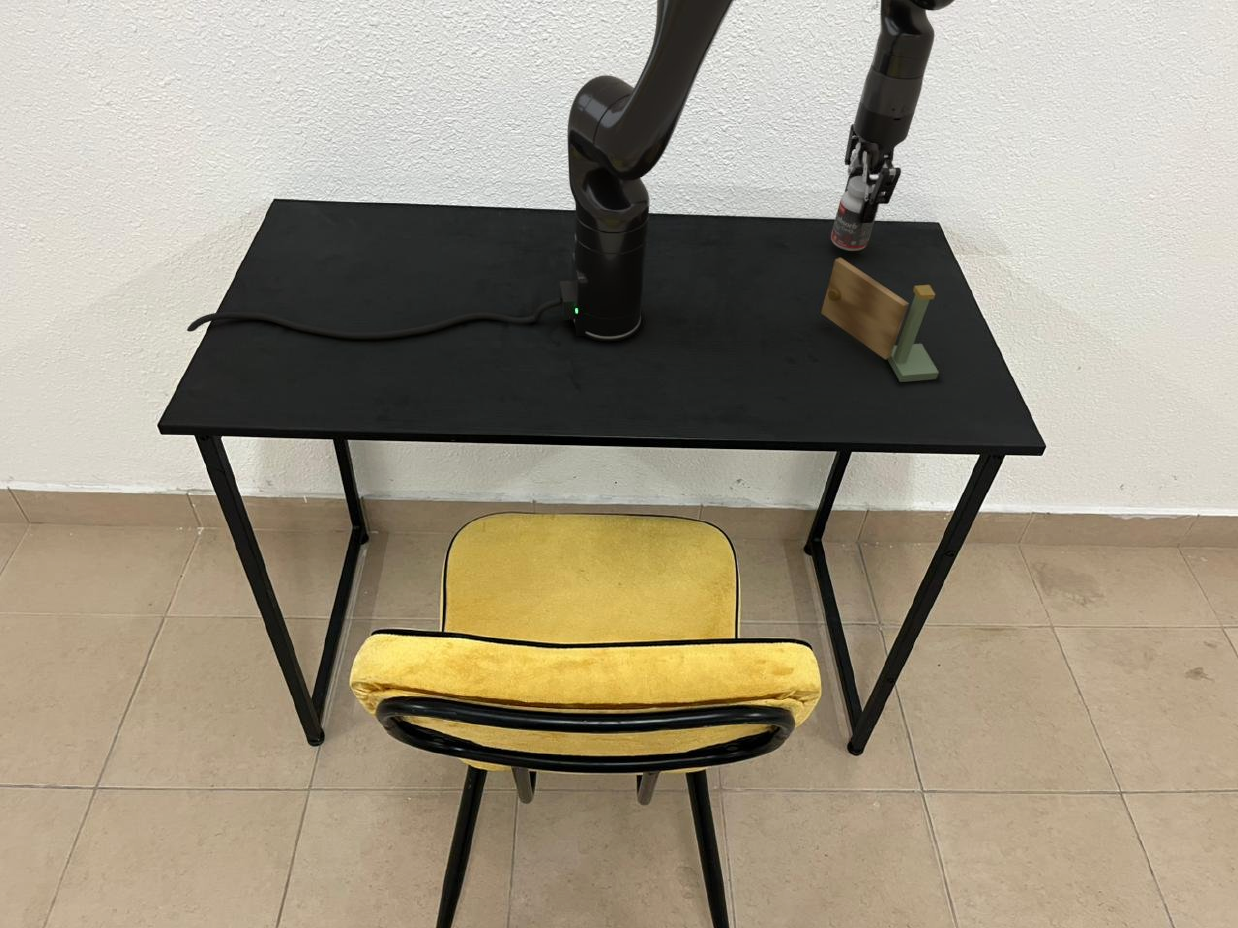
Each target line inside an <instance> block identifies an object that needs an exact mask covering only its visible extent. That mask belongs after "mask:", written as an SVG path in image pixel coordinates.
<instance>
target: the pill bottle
mask: <svg viewBox="0 0 1238 928" xmlns="http://www.w3.org/2000/svg"><path fill="white" fill-rule="evenodd" d="M862 180H863V176H855V177H853V178H851V179H850V181H849V184H848V187H847V189H848V191H846V192H845V191H844V192H845V193H842V194H841V197H840V201H839V203H838V207H837V211H836V215H835V219H834V222H833V224H832V225H833V226H832V230H831V233H830V240H831V242H832V243H833V245H834V246H836V247H837V248H839V249H841V250H844V251H849V252H857V251H858V252H859V251H861V250H863V249H865V248H866V247H867V246H868V243H869V241H870V237H871V234H872V230H873V228H874V224H875V221H876V218H877V215H878V212H879V208H880V204H878V207H877V211H876V214H875V218H874V221H873V222H872V223H863V224H861V223H860V222H859V221H858V216H859V213H860V209H861V206H862V202H863V199H864V196H865V184H863V182H862ZM874 187H875V184H874V185H872V191H871V193H872V192H873V189H874Z"/></svg>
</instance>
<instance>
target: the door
mask: <svg viewBox="0 0 1238 928" xmlns="http://www.w3.org/2000/svg"><path fill="white" fill-rule="evenodd" d="M909 305H910V303H909V302H908V301H906V300H905V299H903V298H902V297H901V296H899V295H897V294H896V293H895V292H893V291H891V290H890V289H888V288H887V287H885V286H884V285H882V284H881V283H880V282H878V281H876V280H875V279H873V278H872V277H871V276H869V275H867V274H866V273H864V272H863V271H862V270H860V269H859V268H857V267H856V266H854V265H853V264H851V263H850V262H848V261H847V260H845V259H844V258H842V257H838V258H836V259H835V260H834V263H833V266H832V270H831V274H830V278H829V281H828V285H827V290H826V292H825V297H824V301H823V304H822V308H821V312H820V314H821V315H823V316H824V317H826V318H827V319H828V320H829V321H831V322H833V323H834V324H835V325H837V326H838V327H839V328H841V329H842V330H843V331H845V332H846V333H848V334H849V335H850V336H852V337H853V338H855V339H856V340H857V341H859V342H860V343H862V344H863V345H864V346H866V348H868V349H870V350H871V351H872V352H874V353H875V354H877V355H878V356H879V357H881V358H882V359H884V360H886V361H887V360H888V358H890V356H891V354H892V351H893V348H894V346H896V342H897V339H898V336H899V334H900V331H901V328H902V325H903V322H904V319H905V317H906V313H907V310H908V308H909Z"/></svg>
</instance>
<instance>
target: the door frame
mask: <svg viewBox="0 0 1238 928" xmlns="http://www.w3.org/2000/svg"><path fill="white" fill-rule="evenodd" d="M912 291H913V293H914V298H913V300H912V303H911V305H910V308H909V311H908V314H907V317H906V320H905V323H904V326H903V328H902V330H901V334H900V337H899V339H898V343H897V345H894V348H893V351H892V354H891V356H890V358H888V359H887V362H888V363H889V365H890V367H891V369H892V370H893V372H894V374H895V376H896V378H897V379H898V381H899V382H900V383H905V382H906V383H907V382H918V381H929V380H931V381H932V380H937V378H938V376H939V374H940V372H939V370H938V369H937V366H936V365H935V363H934V362H933V360H932V358H931V356H930V355H929V353H928V352H927V350H926V349H925V347H924V345H923V344H922V343H915V342H916V338H917V335H918V332H919V330H920V327H921V324H922V321H923V319H924V317H925V313H926V311H927V308H928V306H929V303H930V301H931V300H934V299H935V296H936V292H935V291H934V290H933V288H932V286H931V285H930V284H923V285H914V287H913V290H912Z"/></svg>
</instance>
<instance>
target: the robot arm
mask: <svg viewBox="0 0 1238 928" xmlns="http://www.w3.org/2000/svg"><path fill="white" fill-rule="evenodd" d="M735 1H736V0H656V17H655V18H656V19H655V30H654V36H653V39H652V40H653V41H652V45H651V48H650V50H649V54H648V57H647V60H646V62H645V64H644V67H643V69H642V71H641V73H640V75H639V77H638V79H637V81H636V83H635V85H634V86H633V85H631V84H629V83H628V82H626V81H625V80H623V79H621V78H620V77H617V76H615V75H608V74H607V75H606V74H605V75H598V76H595V77H593V78H591V79H590V80H588V81H587V82H585V84H584V85H583V86H582V87H581V88H580V89H579V90H578V92H577V93H576V95H575V97H574V99H573V101H572V104H571V106H570V110H569V113H568V118H567V129H566V130H567V132H566V136H567V137H566V138H567V139H566V141H567V160H568V161H567V165H568V166H567V167H568V183H569V188H570V192H571V195H572V197H573V200H574V203H575V204H574V205H575V209H574V210H575V212H574V213H575V216H574V218H575V219H574V220H575V221H574V223H575V224H574V228H575V229H574V252H573V253H572V254H571V280H560V281H559V285H558V286H559V289H558V290H559V291H558V292H559V293H558V294H559V295H558V296H559V297H557V298H555V299H553V300H549V301H547V302H545V303H543V304H541V305H540V306H538V307H537V308H536V310H535V311H534V314H533V315H531V316H530V315H529V316H526V317H525V316H524V317H517V316H510V315H506V314H500V313H495V312H486V311H485V312H484V311H480V312H479V311H478V312H470V313H466V314H461V315H457V316H454V317H451V318H448V319H445V320H442V321H439V322H435V323H432V324H428V325H421V326H416V327H410V328H404V329H398V330H397V329H396V330H390V331H379V332H378V331H374V332H373V331H371V332H363V331H359V332H358V331H344V330H337V329H330V328H325V327H319V326H314V325H309V324H303V323H299V322H295V321H292V320H289V319H287V318H284V317H280V316H277V315H273V314H269V313H265V312H264V313H262V312H249V311H221V312H220V311H219V312H214V313H213V312H212V313H209V314H206V315H202V316H200V317H198V318H196V319H195V320H194V321H193V322H191V323H190V324H189V326H187V329H186V331H187V332H195V331H196V330H197V329H198V328H200V327H201V326H202V325H205V324H206V323H209V322H213V321H218V320H256V321H257V320H259V321H266V322H271V323H274V324H278V325H280V326H284V327H287V328H289V329H293V330H296V331H300V332H305V333H311V334H316V335H321V336H325V337H333V338H339V339H346V340H347V339H349V340H386V339H396V338H404V337H409V336H415V335H420V334H426V333H430V332H431V333H432V332H434V331H438V330H441V329H446V328H448V327H451V326H453V325H457V324H460V323H461V324H462V323H464V322H470V321H475V320H492V321H497V322H502V323H503V322H504V323H509V324H510V323H511V324H520V325H529V324H533V323H536V322H537V321H539V319H541V317H542V314H543V313H544V312H546V311H547V310H549V309H552V308H555V307H558V306H560V309H561V314H562V319H563V321H567V320H569V321H570V320H572V321H573V325H574V329H575V333H576V337H579V338H581V337H586V338H589V339H591V340H593V341H598V342H605V343H607V342H609V343H611V342H612V343H613V342H619V341H622V340H626V339H629V338H630V337H632V336H633V335H635V334H636V333H637V332H638V330H639V328H640V327H641V321H642V301H643V290H644V289H643V288H644V278H645V277H644V275H645V264H646V252H647V239H648V228H649V227H648V226H649V215H650V202H651V200H650V194H649V191H648V189H647V186H646V185H645V183H644V182H643V180H642V179H641V178H643V177H644V176H646V175H647V174H648V173H649V172H651V171H652V169H654V167H656V165H657V164H658V162H659V161H660V160H661V159H662V157H663V155H664V154H665V152H666V150H667V148H668V146H669V144H670V142H671V140H672V137H673V135H674V133H675V131H676V128H677V126H678V123H679V121H680V119H681V116H682V113H683V111H684V109H685V106H686V105H687V101H688V99H689V96H690V94H691V92H692V89H693V87H694V84H695V82H696V81H697V77H698V75H699V73H700V71H701V68H702V67H703V65H704V62H705V60H706V59H707V56H708V54H709V52H710V50H711V48H712V46H713V44H714V42H715V39H716V37H717V35H718V33H719V32H720V30H721V27H722V26H723V23H724V21H725V20H726V17H727V16H728V14H729V12H730V9H731V8H732V6H733V4H734V3H735ZM955 1H956V0H880V8H879V21H880V24H879V28H880V29H879V34H878V37H877V41H876V44H875V48H874V52H873V56H872V59H871V63H870V65H869V66H870V67H869V70H868V71H867V74H866V76H865V79H864V82H863V86H862V90H861V94H860V99H859V102H858V106H857V109H856V114H855V118H854V121H853V123H851V125H850V129H849V134H848V140H847V145H846V150H845V155H844V165H845V166H848V167H847V170H846V171H847V175H848V178H847V180H846V185H845V188H844V193H845V192H846V191H848V189H847V187H848V184H849V181H850V179H851V178H853V177H855V176H863V180H862V182H863V184H865V196H864V199H863V202H862V206H861V209H860V213H859V216H858V221H859V222H860V223H861V224H863V223H872V222H873V221H874V218H875V214H876V211H877V207H878V204H879V205H889V203H890V201H891V199H892V196H893V194H894V192H895V190H896V186H897V184H898V181H899V179H900V178H901V175H902V169H901V167H895V166H894V164H893V161H894V154H895V153H894V152H895V148H896V147H897V146H898V145H899V144H901V143H903V142H904V141H905V140H906V139H907V137H908V135H909V132H910V128H911V126H912V122H913V119H914V115H915V112H916V109H917V106H918V103H919V99H920V96H921V92H922V88H923V83H924V78H925V73H926V70H927V66H928V63H929V59H930V57H931V53H932V51H933V46H934V43H935V37H936V36H935V35H936V34H935V33H936V32H935V29H934V27H933V25H932V23H931V22H930V20H929V18H928V16H927V11H930V12H931V11H933V12H936V11H940V10H943V9H945V8H948V7H949V6H951V4H953V3H954V2H955ZM871 176H877V177H871ZM874 184H875V187H874V189H873V192H872V193H871V191H872V185H874ZM844 193H843V194H844ZM877 212H878V211H877ZM875 219H876V218H875ZM874 222H875V221H874Z"/></svg>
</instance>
